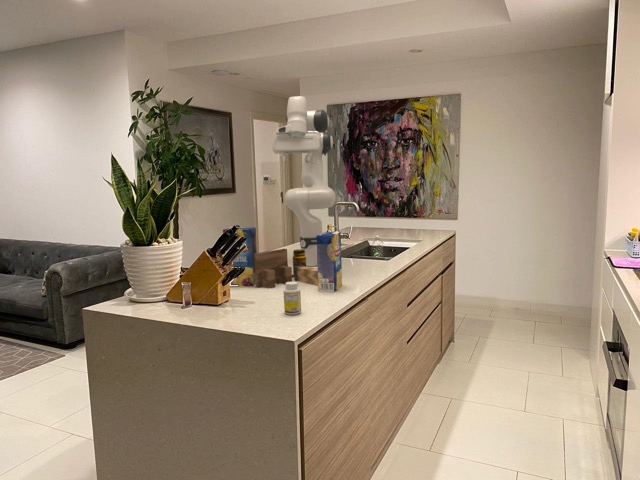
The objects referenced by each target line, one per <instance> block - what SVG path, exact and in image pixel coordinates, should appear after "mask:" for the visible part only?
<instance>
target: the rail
mask: <svg viewBox="0 0 640 480" xmlns="http://www.w3.org/2000/svg"><path fill="white" fill-rule="evenodd" d="M294 282H297V283H304V284H309V285H313V286H318V267H317V268H316V267H312V266H306V267H305V266H302V265H300V266H295V267H294Z"/></svg>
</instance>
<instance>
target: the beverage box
mask: <svg viewBox="0 0 640 480" xmlns="http://www.w3.org/2000/svg"><path fill="white" fill-rule="evenodd" d="M341 235H342V234H341V232H340V231H324V232H323V231H322V233H321V234H319V235H316V236H317V264H318V266H317V269H318V285H317V286H318V290H317V291H318V292H330V293H331V292H333V293H335V292H337V291H338V290H339V289H341V287H342V286H343V274H342V242H341V240H342V238H341Z"/></svg>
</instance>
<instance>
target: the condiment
mask: <svg viewBox="0 0 640 480" xmlns="http://www.w3.org/2000/svg"><path fill="white" fill-rule="evenodd" d="M300 265H302V266H305V267H307V266H306V256H305V250H302V249H301V248H299V249H294V250H293V255H292V280H293V279H294V267H295V266H300Z"/></svg>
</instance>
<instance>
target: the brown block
mask: <svg viewBox="0 0 640 480" xmlns="http://www.w3.org/2000/svg"><path fill="white" fill-rule="evenodd" d="M288 258H289V257H288V248H281V249H280V248H279V249H272V250H268V251H267V250H266V251H260V252H257V253H254V266H255V287H256V288H267V289H273V288H276V284H283V285H286V283H287V282H293V278H292V275H293V266H288V265H289V263H288V261H289V260H288Z"/></svg>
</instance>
